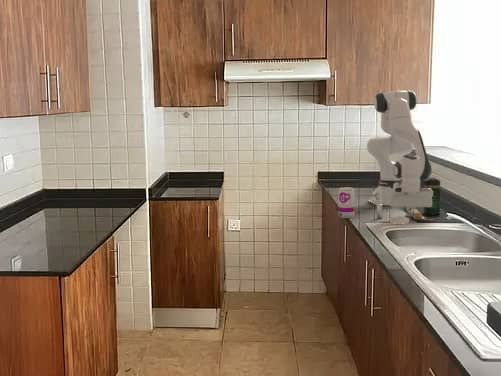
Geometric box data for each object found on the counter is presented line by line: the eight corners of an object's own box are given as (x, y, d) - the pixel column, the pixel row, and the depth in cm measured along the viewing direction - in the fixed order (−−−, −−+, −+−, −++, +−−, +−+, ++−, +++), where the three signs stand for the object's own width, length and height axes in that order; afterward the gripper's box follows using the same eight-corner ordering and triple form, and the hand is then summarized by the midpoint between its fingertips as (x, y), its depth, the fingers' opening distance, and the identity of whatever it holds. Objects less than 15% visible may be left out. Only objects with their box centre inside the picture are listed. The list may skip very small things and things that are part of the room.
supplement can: (351, 218, 292) (350, 189, 290) (336, 217, 296) (335, 188, 294) (357, 216, 299) (356, 187, 297) (342, 215, 303) (341, 186, 301)
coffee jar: (441, 215, 293) (441, 178, 291) (425, 215, 294) (425, 178, 292) (438, 211, 302) (438, 176, 300) (423, 211, 304) (423, 176, 301)
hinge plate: (403, 215, 296) (403, 214, 296) (413, 214, 298) (413, 213, 298) (425, 220, 279) (425, 220, 279) (436, 219, 281) (436, 218, 281)
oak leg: (407, 213, 297) (407, 207, 296) (415, 213, 296) (415, 207, 296) (414, 219, 280) (414, 212, 279) (423, 219, 279) (423, 212, 279)
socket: (390, 222, 277) (390, 217, 277) (401, 221, 280) (401, 216, 279) (397, 224, 272) (397, 219, 271) (409, 223, 274) (409, 218, 273)
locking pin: (375, 218, 291) (375, 204, 290) (380, 217, 292) (380, 204, 291) (378, 219, 289) (378, 205, 288) (383, 218, 289) (383, 204, 289)
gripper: (433, 187, 283) (432, 215, 285) (390, 187, 289) (390, 214, 291) (433, 189, 277) (433, 217, 279) (389, 188, 283) (389, 216, 285)
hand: (410, 215), depth 285 cm, fingers closed
